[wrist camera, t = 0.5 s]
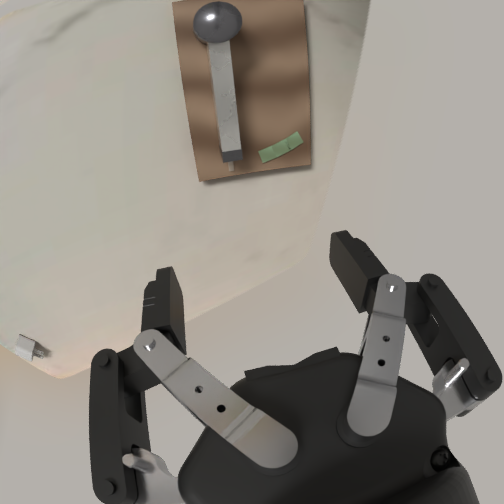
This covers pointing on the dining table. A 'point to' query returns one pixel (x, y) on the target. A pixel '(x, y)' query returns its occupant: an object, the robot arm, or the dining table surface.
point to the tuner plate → (250, 87)
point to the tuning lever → (221, 70)
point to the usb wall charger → (26, 348)
